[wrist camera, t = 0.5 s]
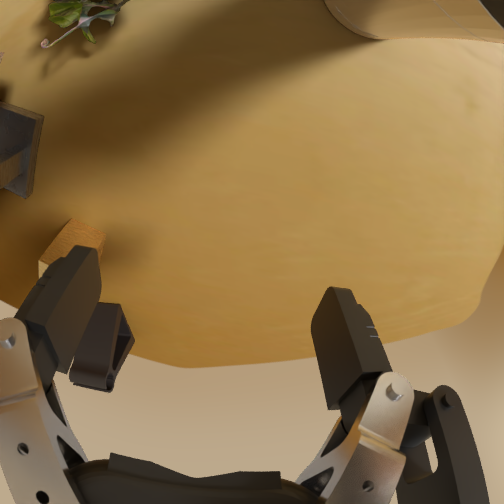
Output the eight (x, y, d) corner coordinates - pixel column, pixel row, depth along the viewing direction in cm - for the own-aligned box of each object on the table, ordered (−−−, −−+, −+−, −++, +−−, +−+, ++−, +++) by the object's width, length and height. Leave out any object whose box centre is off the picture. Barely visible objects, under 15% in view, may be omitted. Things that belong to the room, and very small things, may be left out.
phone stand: (135, 340, 43) (118, 404, 34) (103, 336, 43) (84, 396, 33) (120, 303, 38) (95, 374, 28) (85, 300, 38) (57, 366, 28)
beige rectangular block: (71, 218, 29) (38, 260, 23) (106, 234, 31) (78, 280, 24) (67, 248, 32) (39, 290, 25) (99, 263, 33) (75, 308, 27)
